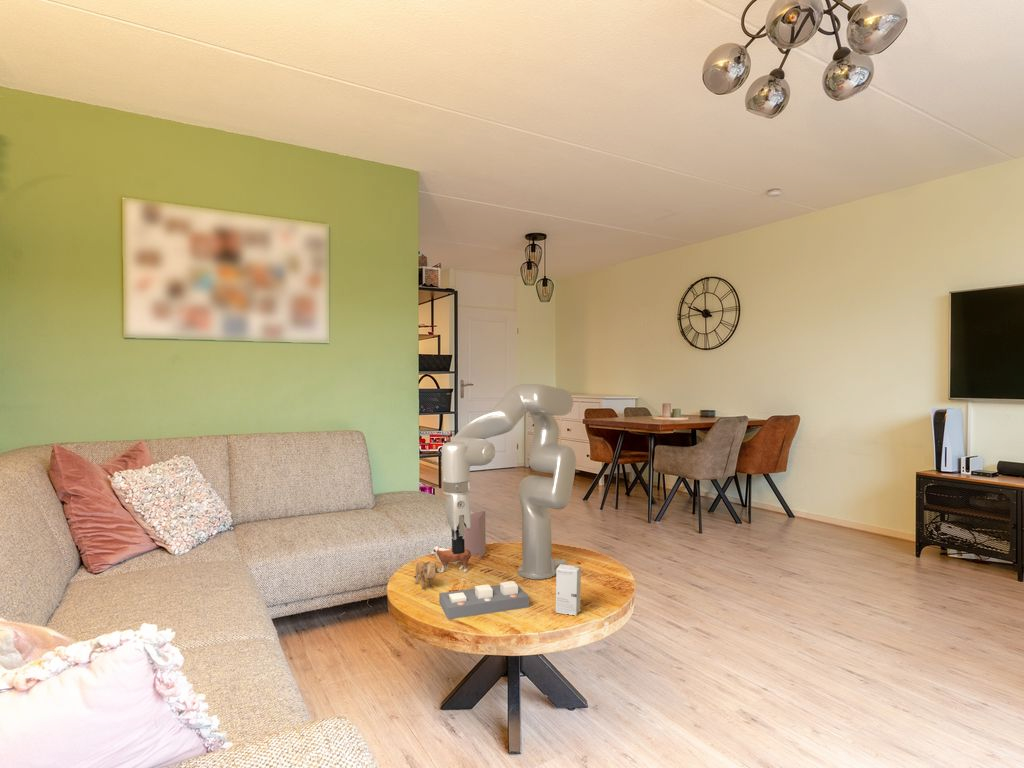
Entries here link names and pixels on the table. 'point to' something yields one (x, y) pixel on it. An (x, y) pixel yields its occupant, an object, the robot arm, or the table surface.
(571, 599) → the skincare box
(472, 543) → the greeting card
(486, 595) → the middle button
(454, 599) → the outer button
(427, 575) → the lion figurine
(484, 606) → the button board
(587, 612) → the table surface
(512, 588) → the inner button
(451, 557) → the bull figurine
